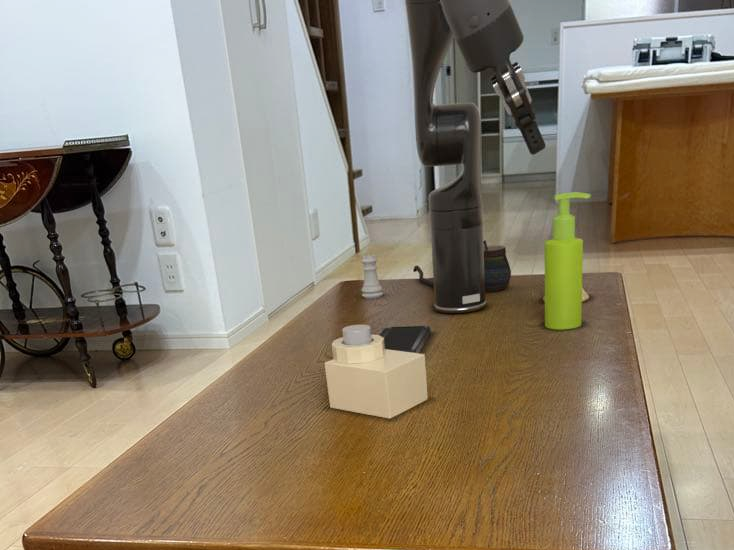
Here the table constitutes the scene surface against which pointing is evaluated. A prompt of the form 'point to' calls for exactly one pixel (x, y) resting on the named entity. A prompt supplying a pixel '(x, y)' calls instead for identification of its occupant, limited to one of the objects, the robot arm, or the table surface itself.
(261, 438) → the table surface
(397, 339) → the phone
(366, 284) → the rook chess piece
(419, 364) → the push button station
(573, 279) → the soap dispenser
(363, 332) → the grey push button
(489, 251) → the mate gourd
